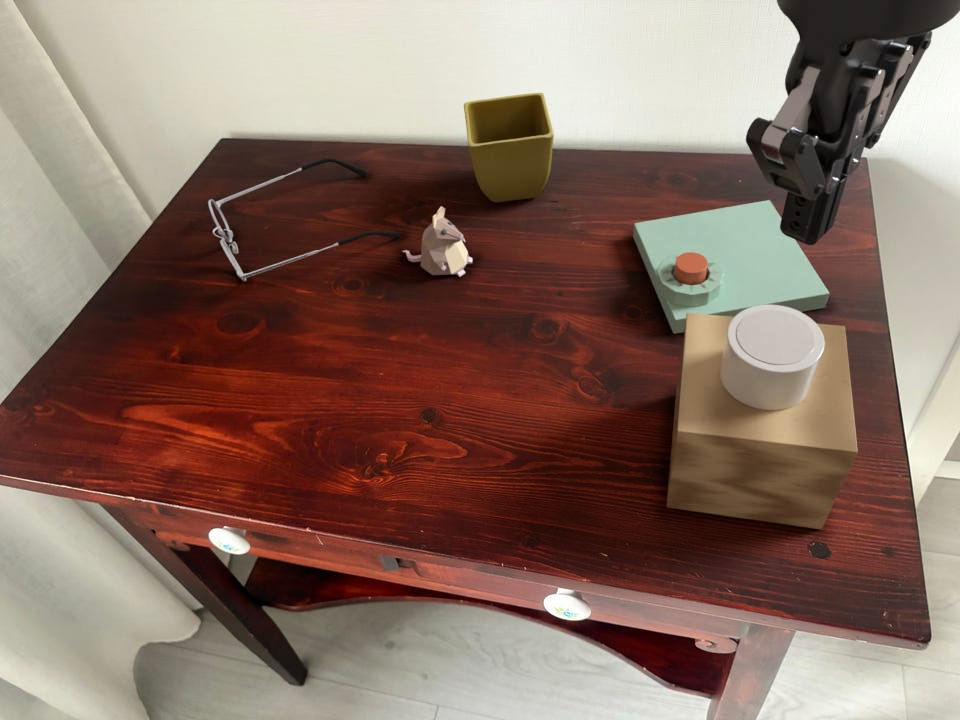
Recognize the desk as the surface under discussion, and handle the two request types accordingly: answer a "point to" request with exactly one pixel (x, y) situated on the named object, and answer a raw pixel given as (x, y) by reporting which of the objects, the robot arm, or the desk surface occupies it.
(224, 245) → the eyeglasses
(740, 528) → the desk surface
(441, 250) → the mouse figurine
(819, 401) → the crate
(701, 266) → the button
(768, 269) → the scale
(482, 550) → the desk surface
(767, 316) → the ramekin
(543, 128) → the flower pot
